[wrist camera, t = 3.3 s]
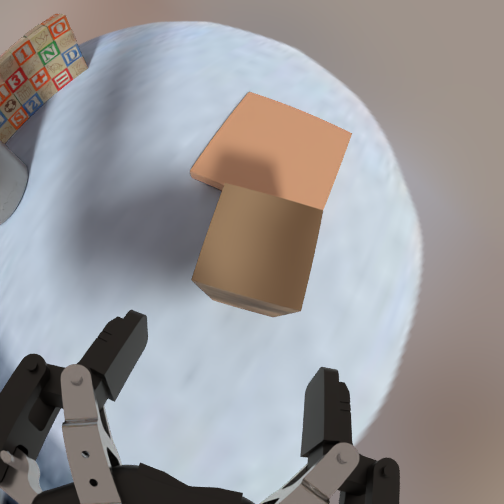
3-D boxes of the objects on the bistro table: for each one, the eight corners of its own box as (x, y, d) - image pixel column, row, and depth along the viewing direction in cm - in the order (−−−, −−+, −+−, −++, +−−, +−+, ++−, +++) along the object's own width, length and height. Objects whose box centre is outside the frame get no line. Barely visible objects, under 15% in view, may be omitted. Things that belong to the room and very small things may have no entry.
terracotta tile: (191, 177, 24) (189, 170, 23) (248, 99, 27) (248, 91, 26) (312, 232, 23) (316, 227, 22) (348, 140, 26) (351, 133, 25)
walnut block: (212, 300, 21) (191, 279, 12) (230, 242, 23) (224, 182, 13) (273, 317, 21) (300, 311, 12) (288, 258, 23) (323, 210, 13)
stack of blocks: (-8, 160, 25) (-50, 119, 13) (-11, 144, 26) (-47, 106, 14) (89, 68, 29) (65, 13, 18) (77, 60, 30) (55, 12, 18)
